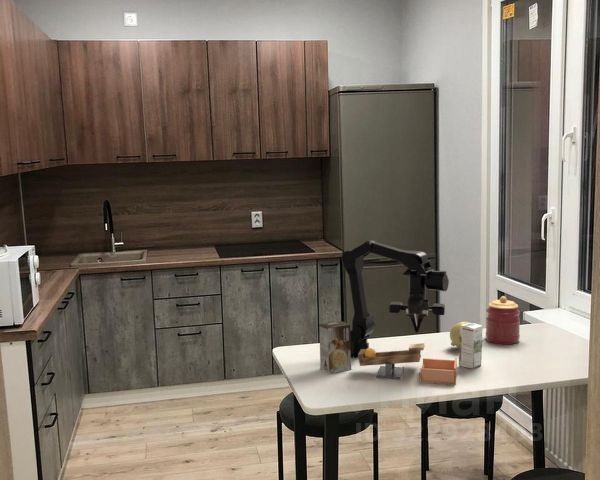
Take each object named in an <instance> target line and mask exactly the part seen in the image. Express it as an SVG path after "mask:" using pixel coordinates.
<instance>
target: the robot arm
mask: <svg viewBox="0 0 600 480" xmlns="http://www.w3.org/2000/svg"><path fill="white" fill-rule="evenodd" d="M370 254H373V255H374V254H375V255H377V256H380V257H383V258H387V259H390V260H393V261H395V262H399V263H401V264H402V265H403V266H404V267H406V268H407V269H406V270H405V271H404V272H403V273H402V275H403V276H408V299H407V304H403V301H392V302H390V303H389V308H388V309H389V310H388V312H389V313H391V314H393V313H394V314H399V313H400V312H401V311H405V312H406V313H405V315H406V316H408V317H409V319H410V320H411V322H412V325H413V329H414V331H415V333H416V334H418V333H419V332H420V331H419V330H420V328H421V325H422V322H423V320H424V318H425V317H428V315H429V312H431V313H432V314H433V315H434V316H445V313H446V305H445V304H444V303H435V302H434V303H433V304H432V305H430V302H429V299H426V294H427V292H426V291H427V289H428V290H429V291H439V292H446V291H447V290H448V288H449V283H450V282H449V277H448V274H447V271H446V270H435V268H434V266H432V264H431V263H430V261H429V257H428V255H427V253H426V252H424V251H418V250H408V249H407V250H404V249H403V248H402V249H401V248H398V247H395V246H391V245H389V244H385V243H381V242H379V241H376V240H374V239H371V240H366V241H365V242H363V243H362V244H360V245H359V246H357V247H354V248H353V249H349V250H345V251H344V252H343V253H342V254H341V262H342V265H343V268H344V271H345V272H346V273H347V274H348V279H349V286H350V292H351V301H352V307H353V318H352V320H351V329H350V333H351V358H357V359H359V358H358V354H359V352H360V350H361V349H365V350H366V349H368V348H370V343H369V342H368V338H370V336H371V334H372V333H374V329H375V326H376V323H375V316H374V314H371V315H370V313H369V312H368V306H367V302H366V294H365V293H366V292H365V289H364V280H363V274H362V273H363V269H364V266H365V265H364V263H365V262H364V261H365V258H366V257H367V256H368V255H370ZM417 316H418V317H417ZM417 318H418V319H417Z"/></svg>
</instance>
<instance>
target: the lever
mask: <svg viewBox="0 0 600 480" xmlns="http://www.w3.org/2000/svg"><path fill="white" fill-rule="evenodd" d="M424 349H425V343H423V342H422V343H412V344H411V343H410V344H409V346H408V349H407V350H406V349H405V350H392V351H379V352H376V351H375V352H376V356H375V357H371V358H365V356H364V352H365V349H361V350H360V352H359V354H358V358H357V359H358V364H359V367H365V366H366V367H367V366H383V365H385V363H392V364H395V365H396V364H408V363H409V364H411V363H420V362H421V357H422V356H421V355H422V354H421V351H424Z"/></svg>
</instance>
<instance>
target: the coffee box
mask: <svg viewBox="0 0 600 480" xmlns="http://www.w3.org/2000/svg"><path fill="white" fill-rule="evenodd" d="M318 328H319V360H320V361H319V365H320V370H322V371H323V372H325V373H327V374H330V375H331V374H335V373H339V372H345V371H349V370H352V357H351V333H350V331H351V324H350V323H347V322H344V321H342V320H339V321H334V322H333V321H331V322H327V323H321V324H320V323H319V327H318Z"/></svg>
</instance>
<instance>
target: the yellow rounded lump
mask: <svg viewBox="0 0 600 480" xmlns="http://www.w3.org/2000/svg"><path fill="white" fill-rule="evenodd" d="M467 323H470V322H468V321H460V322H457V323H456V324H454V325H453V326H452V327H451V328H450V331H449V338H450V341H451V342H450V345H451V347H457V348H459V337H460V326H461V325H464V324H467Z"/></svg>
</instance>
